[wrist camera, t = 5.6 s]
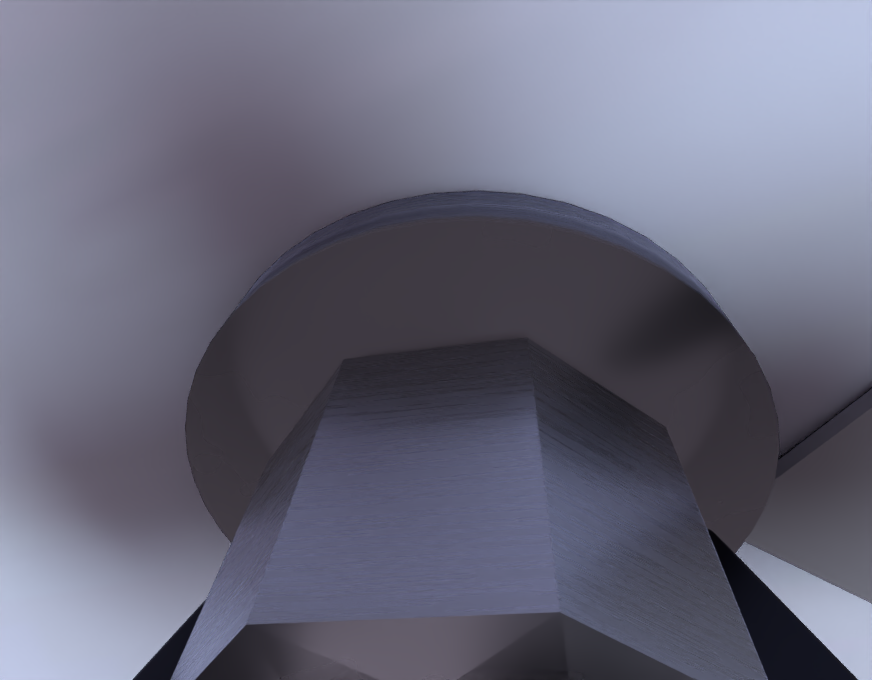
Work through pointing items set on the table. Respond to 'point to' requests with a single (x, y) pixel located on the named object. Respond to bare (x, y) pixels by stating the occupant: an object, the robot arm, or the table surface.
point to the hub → (487, 336)
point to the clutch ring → (471, 536)
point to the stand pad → (825, 503)
